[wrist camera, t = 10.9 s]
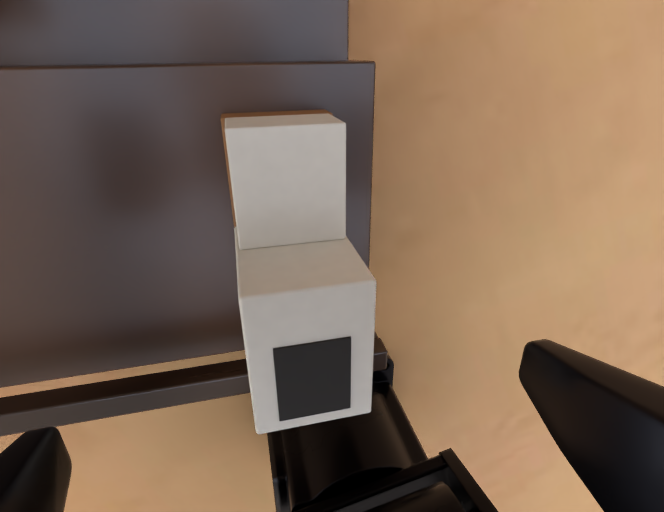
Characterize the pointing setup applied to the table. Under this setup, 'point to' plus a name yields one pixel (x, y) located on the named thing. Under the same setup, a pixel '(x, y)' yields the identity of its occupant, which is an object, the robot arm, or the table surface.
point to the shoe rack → (147, 187)
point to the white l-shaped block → (298, 269)
